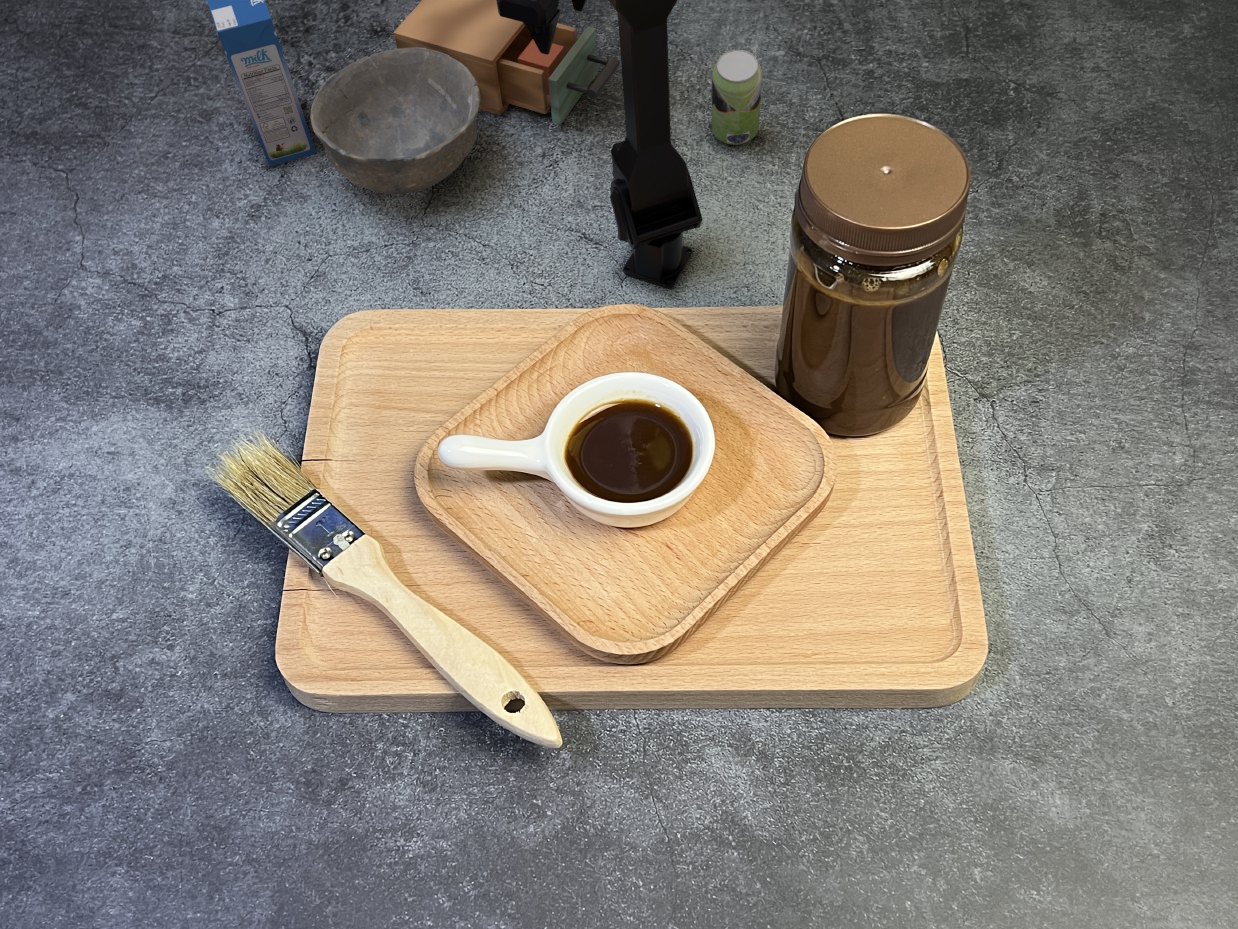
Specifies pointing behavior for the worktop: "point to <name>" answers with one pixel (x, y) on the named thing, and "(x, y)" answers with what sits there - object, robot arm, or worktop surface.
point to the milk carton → (263, 78)
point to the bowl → (398, 119)
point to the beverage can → (736, 97)
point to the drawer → (554, 73)
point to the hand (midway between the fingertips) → (561, 31)
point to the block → (542, 59)
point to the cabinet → (464, 39)
